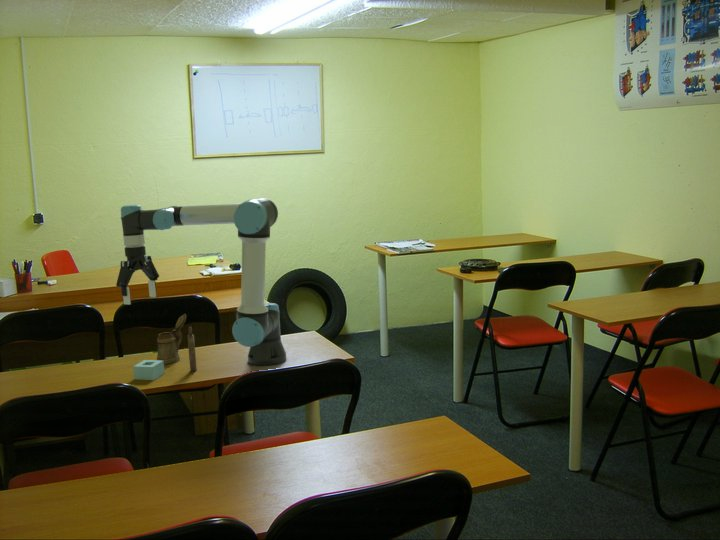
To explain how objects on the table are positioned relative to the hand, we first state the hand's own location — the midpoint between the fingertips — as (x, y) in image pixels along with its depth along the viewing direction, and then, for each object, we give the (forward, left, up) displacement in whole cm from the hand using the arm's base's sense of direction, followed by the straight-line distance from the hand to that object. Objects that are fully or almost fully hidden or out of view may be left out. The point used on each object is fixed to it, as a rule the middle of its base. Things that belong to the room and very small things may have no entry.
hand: (140, 300), depth 268 cm
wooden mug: (-6, -11, -27) cm, 30 cm away
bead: (-7, +10, -27) cm, 30 cm away
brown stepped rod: (-21, +2, -27) cm, 34 cm away
